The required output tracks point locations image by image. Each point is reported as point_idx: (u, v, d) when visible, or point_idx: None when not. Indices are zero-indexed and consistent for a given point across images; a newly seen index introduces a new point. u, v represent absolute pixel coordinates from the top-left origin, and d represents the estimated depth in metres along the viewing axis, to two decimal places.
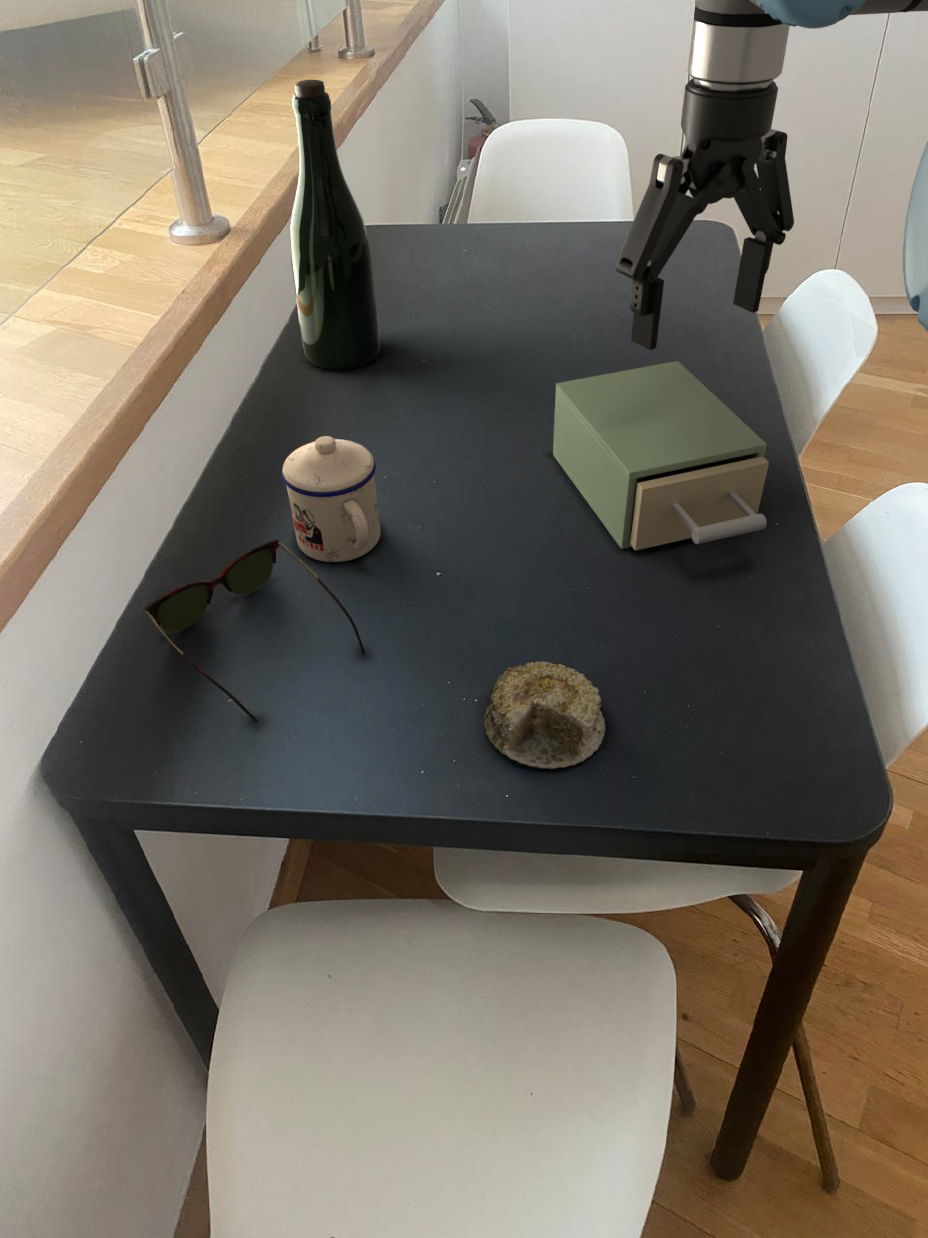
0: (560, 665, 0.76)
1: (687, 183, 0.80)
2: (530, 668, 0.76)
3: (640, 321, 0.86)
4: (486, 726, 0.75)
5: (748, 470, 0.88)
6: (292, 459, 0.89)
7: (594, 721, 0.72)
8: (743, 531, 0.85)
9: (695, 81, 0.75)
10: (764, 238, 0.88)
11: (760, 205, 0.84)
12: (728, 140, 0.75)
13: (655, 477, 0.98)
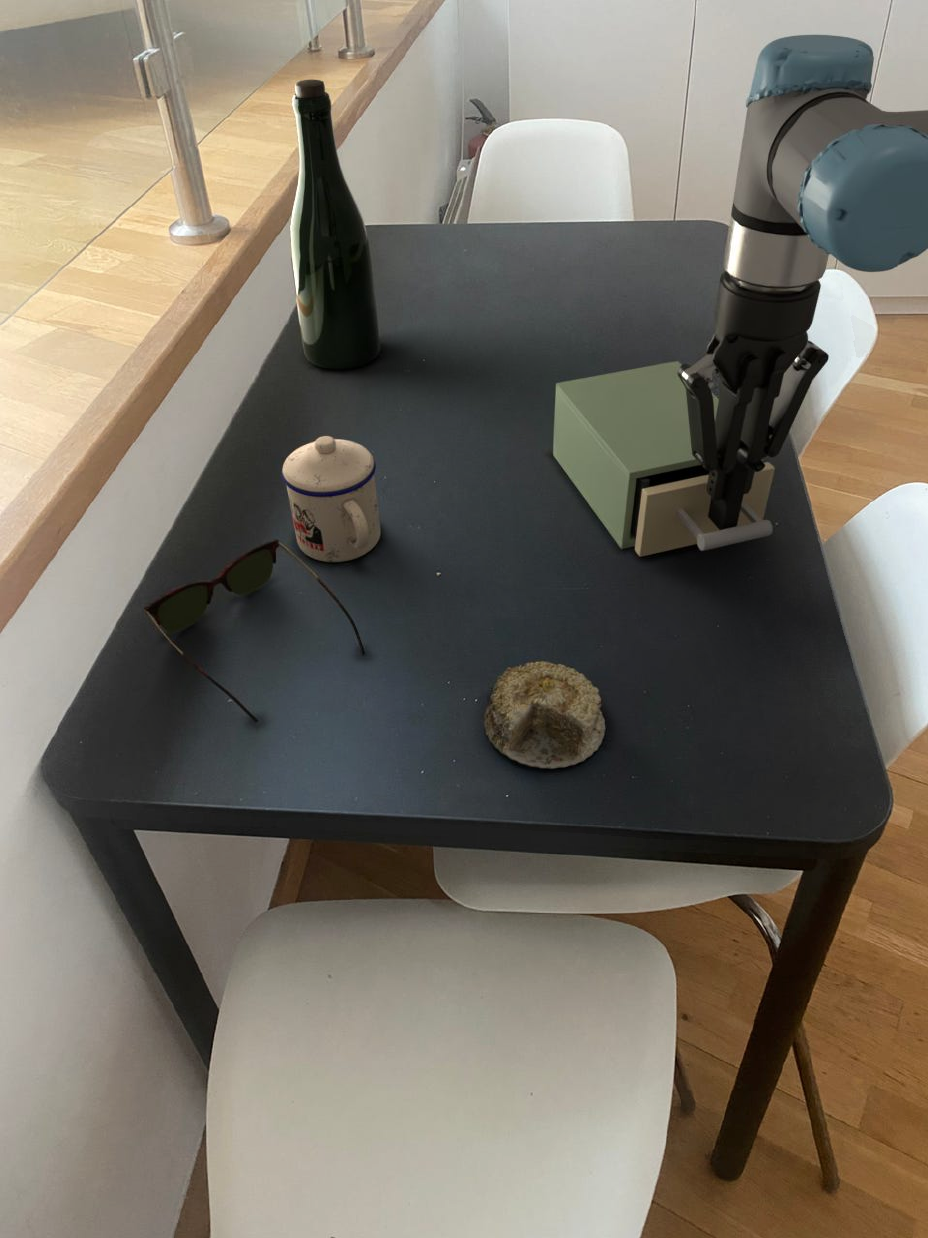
0: (560, 665, 0.76)
1: (715, 369, 0.75)
2: (530, 668, 0.76)
3: (716, 503, 0.85)
4: (486, 726, 0.75)
5: (754, 476, 0.88)
6: (292, 459, 0.89)
7: (594, 721, 0.72)
8: (749, 537, 0.84)
9: None
10: (744, 457, 0.81)
11: (764, 417, 0.78)
12: (753, 339, 0.70)
13: (659, 482, 0.97)
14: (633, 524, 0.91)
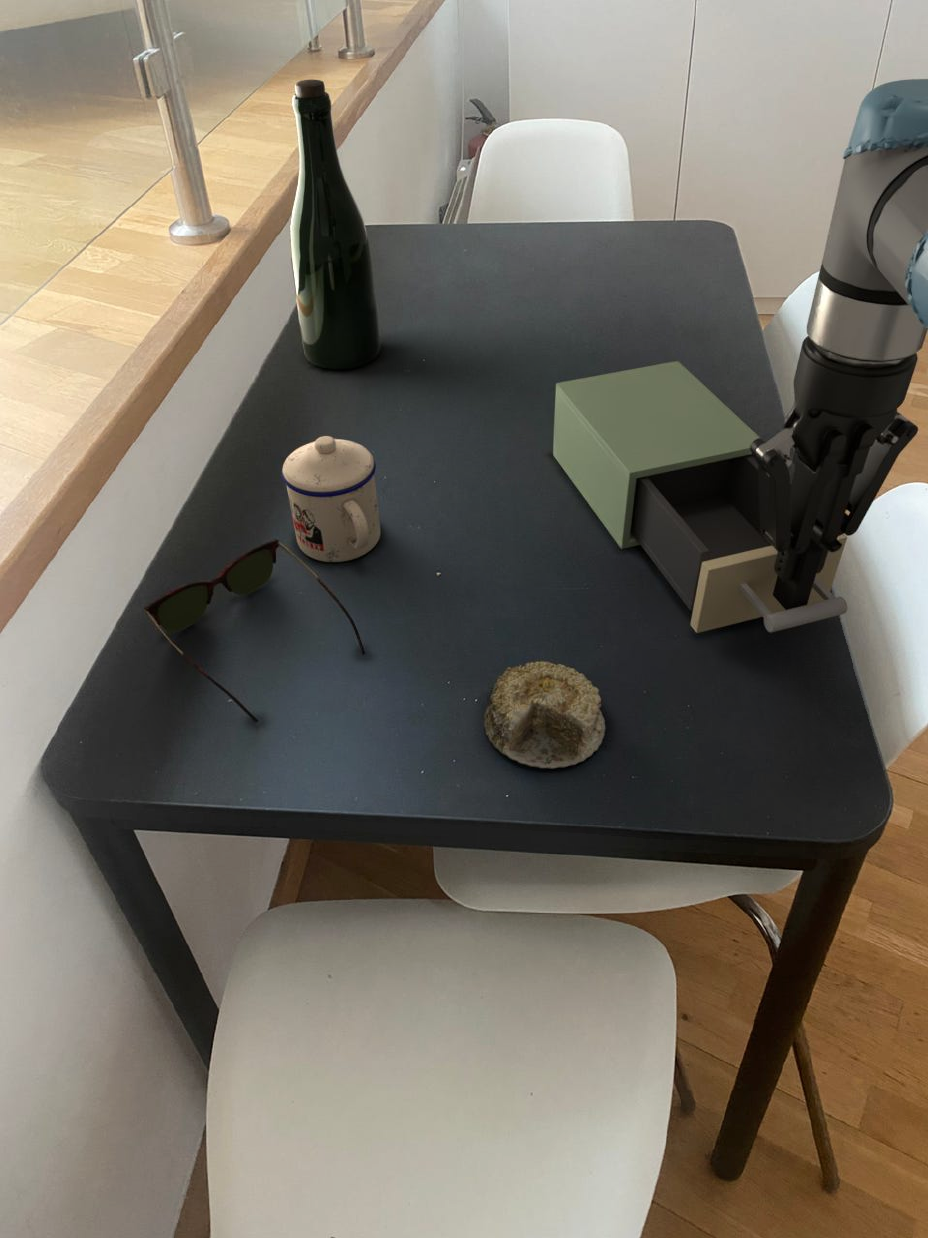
0: (560, 665, 0.76)
1: (792, 444, 0.67)
2: (530, 668, 0.76)
3: (784, 582, 0.77)
4: (486, 726, 0.75)
5: None
6: (292, 459, 0.89)
7: (594, 721, 0.72)
8: (822, 617, 0.76)
9: None
10: (818, 535, 0.73)
11: (844, 494, 0.70)
12: (841, 416, 0.63)
13: (713, 545, 0.89)
14: (688, 596, 0.83)
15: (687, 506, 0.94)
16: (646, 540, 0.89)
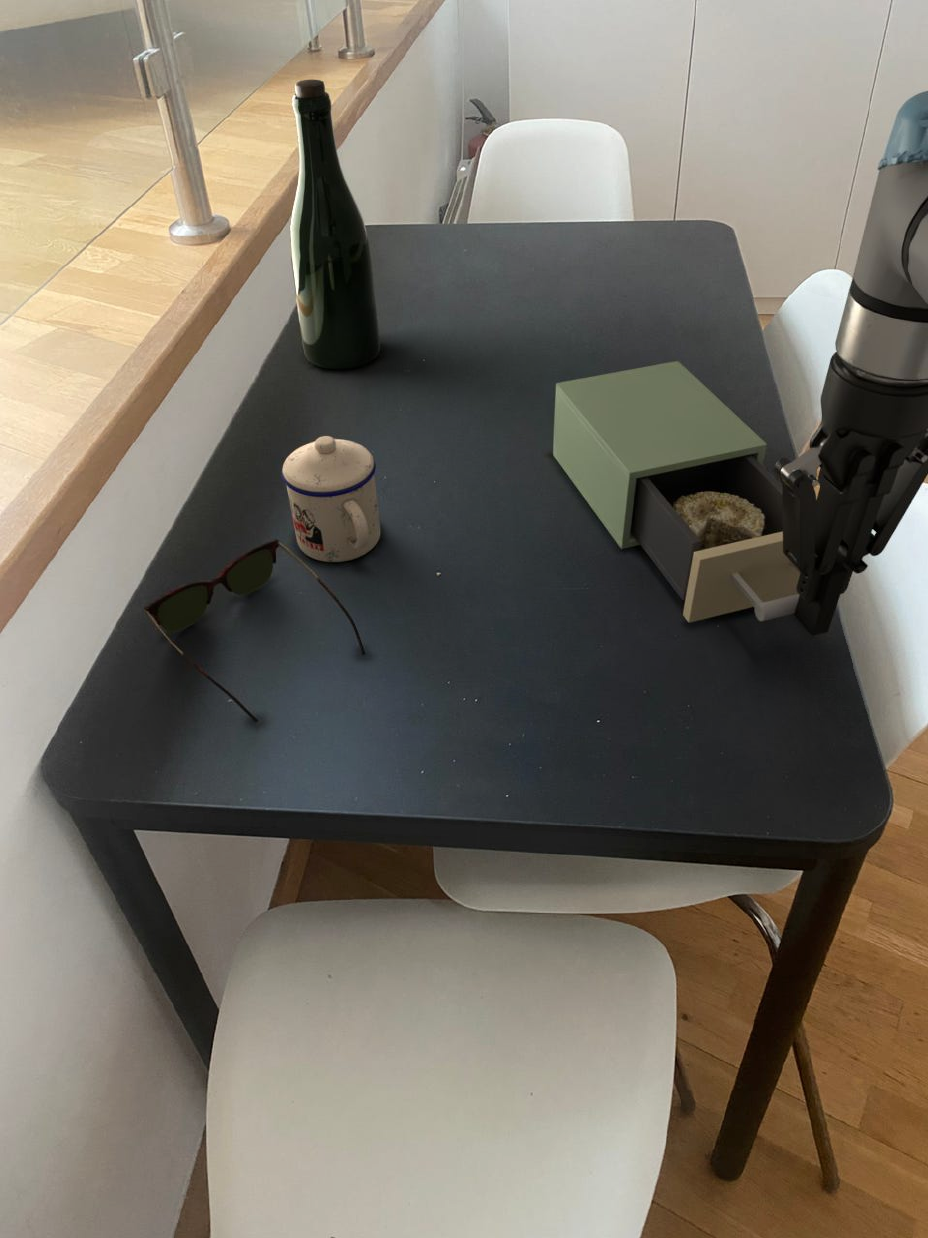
0: (725, 493, 0.90)
1: None
2: (701, 495, 0.89)
3: (806, 603, 0.75)
4: None
5: None
6: (292, 459, 0.89)
7: (761, 533, 0.86)
8: None
9: None
10: (843, 556, 0.71)
11: (870, 514, 0.68)
12: (871, 436, 0.60)
13: None
14: (681, 586, 0.84)
15: None
16: (639, 532, 0.90)
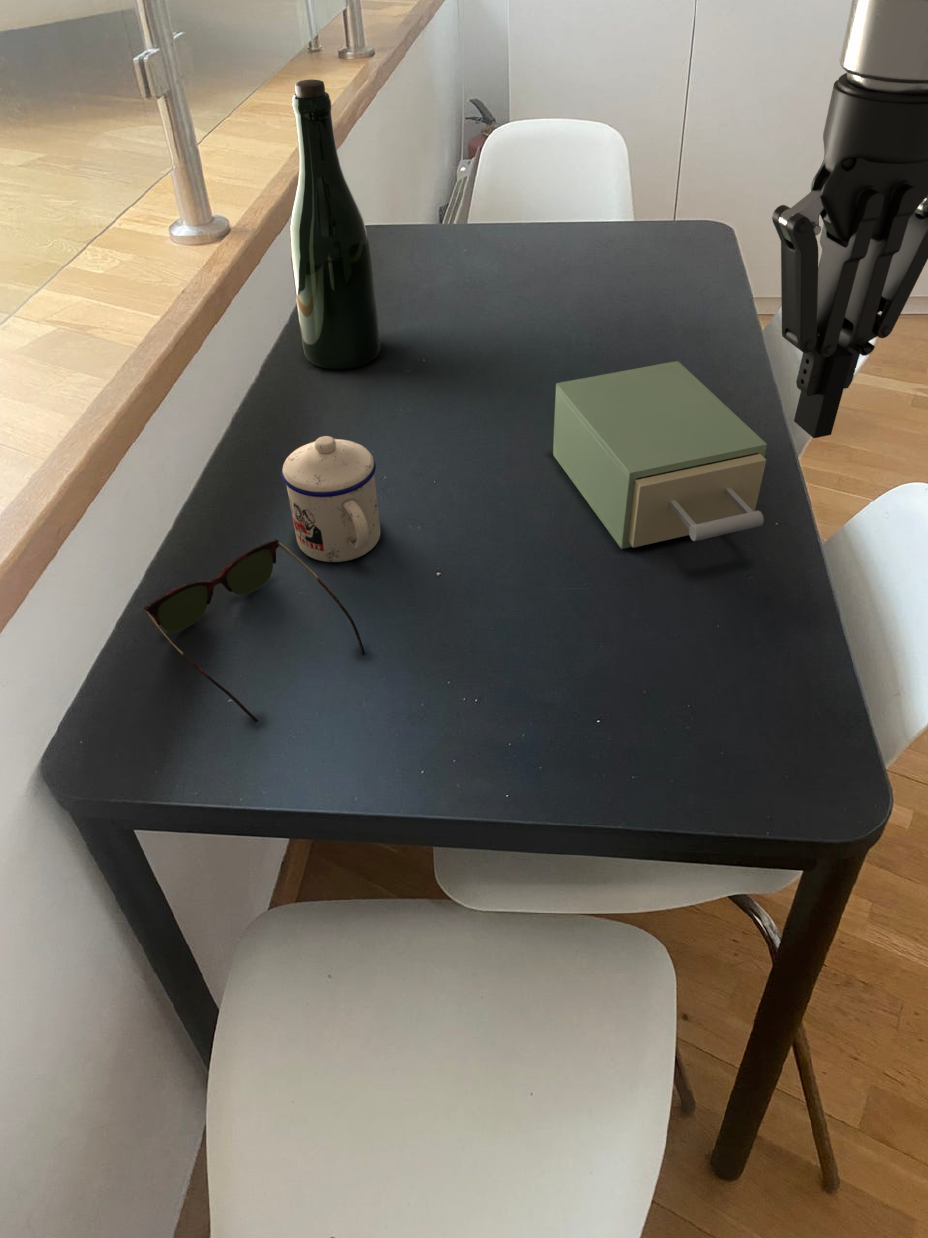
0: None
1: (821, 214, 0.59)
2: None
3: (807, 401, 0.69)
4: None
5: (745, 467, 0.89)
6: (292, 459, 0.89)
7: None
8: (741, 527, 0.85)
9: (847, 75, 0.55)
10: (847, 338, 0.65)
11: (878, 280, 0.62)
12: (879, 160, 0.54)
13: None
14: None
15: None
16: None
